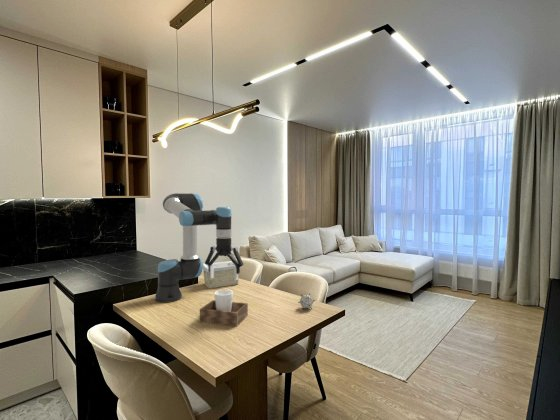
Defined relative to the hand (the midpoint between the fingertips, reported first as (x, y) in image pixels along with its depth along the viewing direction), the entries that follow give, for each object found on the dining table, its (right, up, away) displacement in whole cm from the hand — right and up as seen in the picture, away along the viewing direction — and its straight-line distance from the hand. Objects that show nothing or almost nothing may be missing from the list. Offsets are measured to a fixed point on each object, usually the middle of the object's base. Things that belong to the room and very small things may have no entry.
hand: (224, 279), depth 153 cm
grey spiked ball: (+43, -20, +15) cm, 50 cm away
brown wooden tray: (0, -20, +1) cm, 20 cm away
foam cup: (0, -20, +1) cm, 20 cm away
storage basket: (-14, -19, +63) cm, 67 cm away
